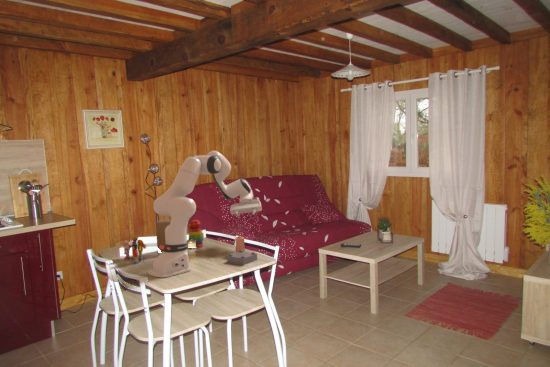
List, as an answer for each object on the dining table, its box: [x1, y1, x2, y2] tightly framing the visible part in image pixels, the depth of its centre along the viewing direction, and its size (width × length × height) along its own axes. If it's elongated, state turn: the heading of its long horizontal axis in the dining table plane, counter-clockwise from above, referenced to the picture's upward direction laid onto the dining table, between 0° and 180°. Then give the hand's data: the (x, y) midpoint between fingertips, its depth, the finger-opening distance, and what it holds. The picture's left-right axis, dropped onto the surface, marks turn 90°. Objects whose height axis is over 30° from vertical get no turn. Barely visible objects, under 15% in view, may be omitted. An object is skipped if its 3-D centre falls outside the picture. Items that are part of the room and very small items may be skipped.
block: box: [155, 218, 171, 252], centre depth 245 cm, size 10×10×20 cm
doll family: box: [121, 236, 147, 265], centre depth 230 cm, size 21×10×13 cm, turn 42°
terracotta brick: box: [234, 235, 246, 253], centre depth 236 cm, size 5×5×11 cm
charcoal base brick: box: [226, 250, 258, 266], centre depth 222 cm, size 12×12×5 cm
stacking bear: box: [188, 219, 204, 249], centre depth 256 cm, size 11×10×18 cm
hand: (245, 214), depth 245 cm, fingers open, 8 cm apart
